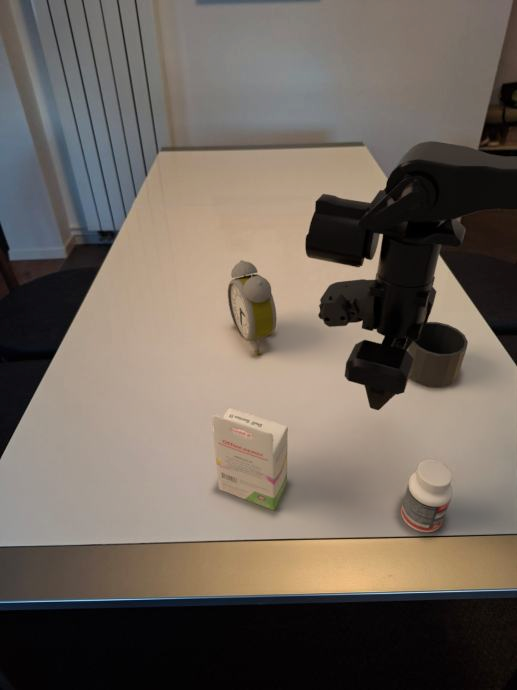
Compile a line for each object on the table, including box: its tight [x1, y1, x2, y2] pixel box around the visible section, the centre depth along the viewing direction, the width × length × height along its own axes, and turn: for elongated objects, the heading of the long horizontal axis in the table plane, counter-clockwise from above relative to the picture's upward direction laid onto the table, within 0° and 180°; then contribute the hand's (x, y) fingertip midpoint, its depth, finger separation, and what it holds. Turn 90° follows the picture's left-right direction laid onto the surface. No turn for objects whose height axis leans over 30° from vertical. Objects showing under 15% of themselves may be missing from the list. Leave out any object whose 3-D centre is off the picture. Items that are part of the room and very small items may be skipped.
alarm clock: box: [227, 259, 277, 355], centre depth 91 cm, size 12×7×15 cm, turn 23°
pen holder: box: [407, 321, 469, 389], centre depth 85 cm, size 9×9×7 cm
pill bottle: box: [400, 458, 453, 533], centre depth 62 cm, size 5×5×9 cm
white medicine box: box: [212, 407, 289, 511], centre depth 64 cm, size 9×5×15 cm, turn 65°
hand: (384, 384), depth 61 cm, fingers open, 9 cm apart
